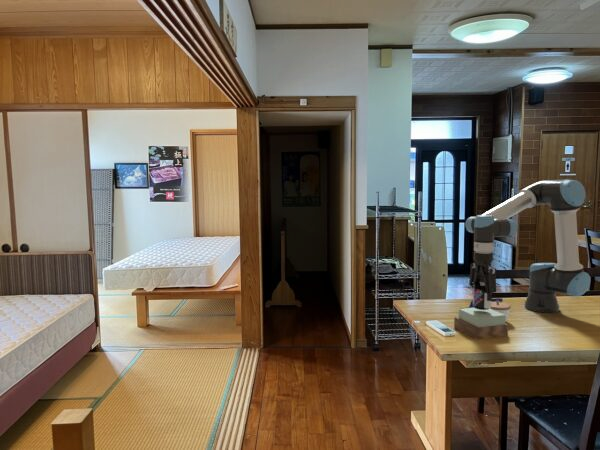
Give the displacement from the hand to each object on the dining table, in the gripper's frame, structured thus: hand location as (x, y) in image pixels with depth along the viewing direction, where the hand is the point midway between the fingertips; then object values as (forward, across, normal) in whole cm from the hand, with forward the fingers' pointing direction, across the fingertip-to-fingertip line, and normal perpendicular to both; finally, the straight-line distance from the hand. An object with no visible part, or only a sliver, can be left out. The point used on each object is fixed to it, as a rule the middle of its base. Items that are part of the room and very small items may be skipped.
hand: (481, 305), depth 182 cm
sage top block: (+7, 0, 0) cm, 7 cm away
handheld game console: (+12, -22, +16) cm, 29 cm away
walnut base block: (+12, 0, 0) cm, 12 cm away
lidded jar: (+11, -10, +16) cm, 22 cm away
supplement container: (+1, 0, 0) cm, 1 cm away
